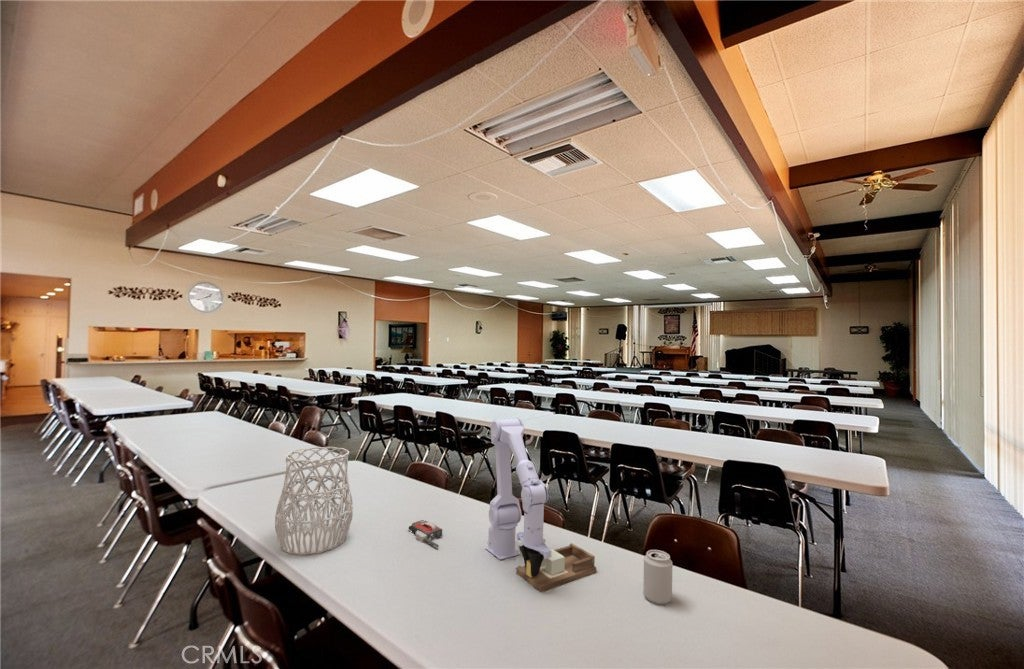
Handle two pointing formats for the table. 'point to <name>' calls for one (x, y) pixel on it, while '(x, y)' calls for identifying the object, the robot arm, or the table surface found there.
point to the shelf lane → (575, 568)
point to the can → (657, 577)
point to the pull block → (550, 564)
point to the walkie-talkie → (426, 531)
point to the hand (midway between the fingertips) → (532, 573)
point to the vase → (321, 536)
